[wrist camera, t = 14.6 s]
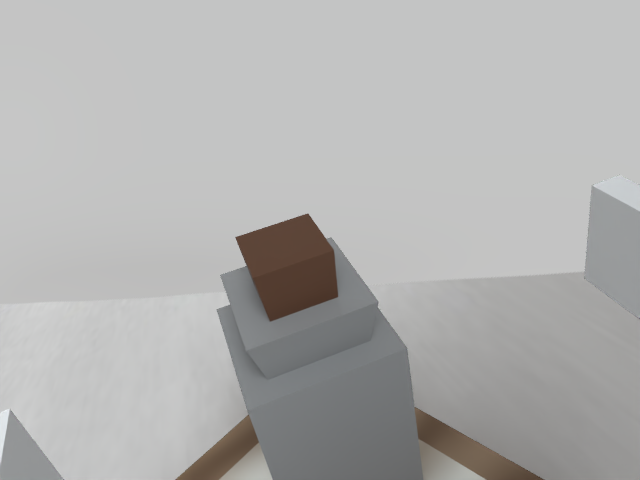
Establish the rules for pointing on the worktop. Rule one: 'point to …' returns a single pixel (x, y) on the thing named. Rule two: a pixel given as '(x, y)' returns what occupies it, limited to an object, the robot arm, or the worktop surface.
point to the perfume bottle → (318, 361)
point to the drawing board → (434, 443)
